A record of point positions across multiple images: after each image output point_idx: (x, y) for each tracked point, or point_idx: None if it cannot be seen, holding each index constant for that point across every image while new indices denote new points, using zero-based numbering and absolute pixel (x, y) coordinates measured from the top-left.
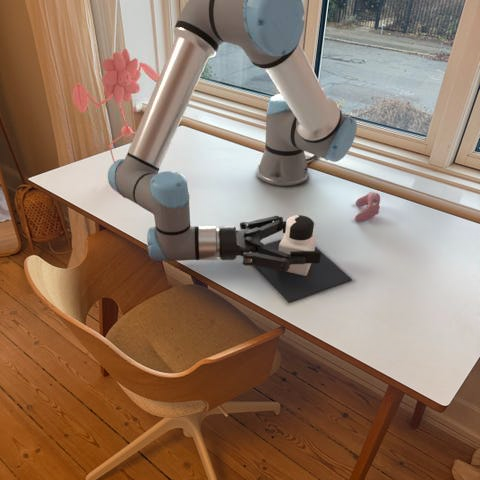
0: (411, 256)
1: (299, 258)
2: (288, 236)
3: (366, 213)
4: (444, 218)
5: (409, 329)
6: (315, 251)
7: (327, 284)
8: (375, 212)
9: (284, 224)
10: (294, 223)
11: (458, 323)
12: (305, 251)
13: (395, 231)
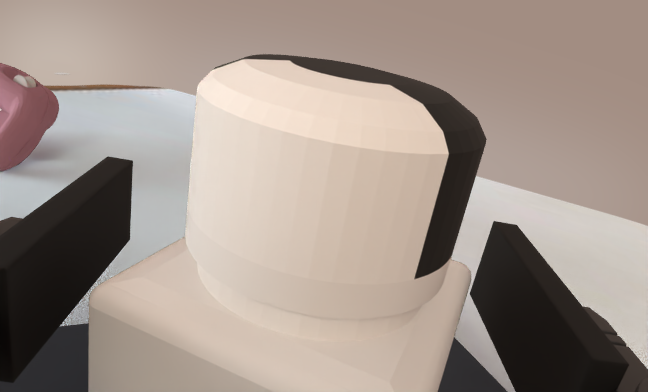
0: None
1: (617, 340)
2: (404, 276)
3: (31, 121)
4: (128, 96)
5: (617, 266)
6: (510, 237)
7: (467, 373)
8: (55, 107)
9: (10, 279)
10: (417, 98)
11: (538, 203)
12: (537, 274)
13: (133, 145)
